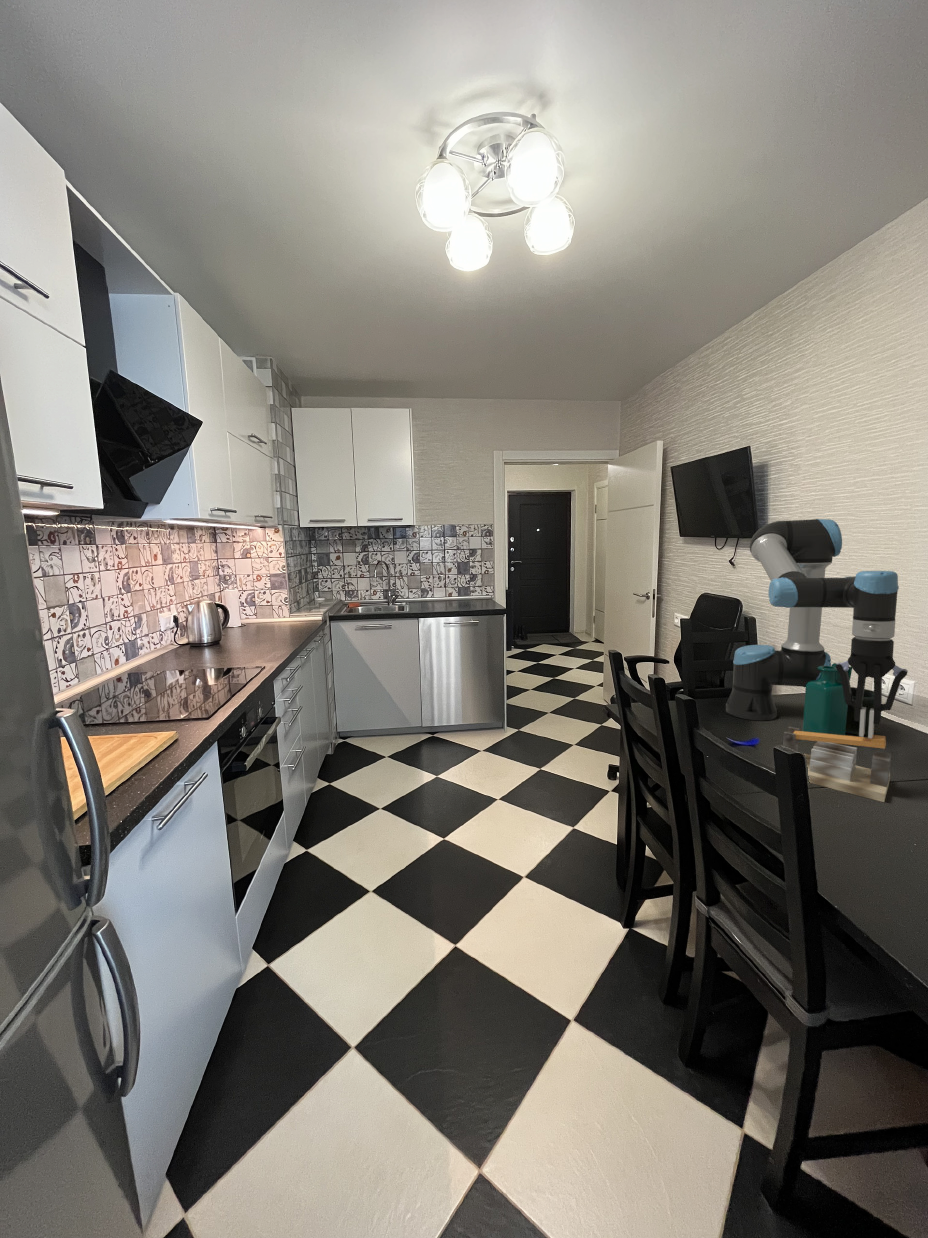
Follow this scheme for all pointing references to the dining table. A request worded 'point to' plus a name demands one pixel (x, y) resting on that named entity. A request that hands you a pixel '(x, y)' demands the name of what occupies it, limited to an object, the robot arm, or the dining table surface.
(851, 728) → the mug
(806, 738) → the wooden stick
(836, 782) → the clear acrylic stand
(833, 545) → the robot arm
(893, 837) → the dining table surface
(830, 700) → the pitcher
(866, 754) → the dining table surface
